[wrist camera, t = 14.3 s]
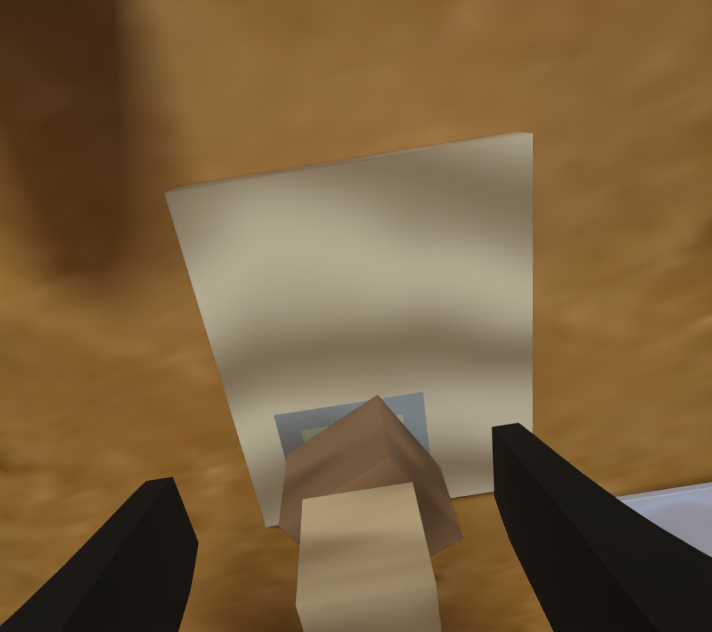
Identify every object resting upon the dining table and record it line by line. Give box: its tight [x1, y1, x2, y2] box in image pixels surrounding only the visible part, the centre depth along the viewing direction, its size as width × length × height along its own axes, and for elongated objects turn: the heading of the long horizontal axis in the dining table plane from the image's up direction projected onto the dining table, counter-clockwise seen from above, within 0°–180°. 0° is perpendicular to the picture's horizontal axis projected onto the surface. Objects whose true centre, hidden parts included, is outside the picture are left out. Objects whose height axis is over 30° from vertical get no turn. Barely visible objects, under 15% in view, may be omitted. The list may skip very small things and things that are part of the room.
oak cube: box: [296, 482, 442, 632], centre depth 16 cm, size 4×4×4 cm
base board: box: [164, 132, 533, 527], centre depth 20 cm, size 16×13×2 cm
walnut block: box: [279, 395, 463, 556], centre depth 20 cm, size 5×5×4 cm
